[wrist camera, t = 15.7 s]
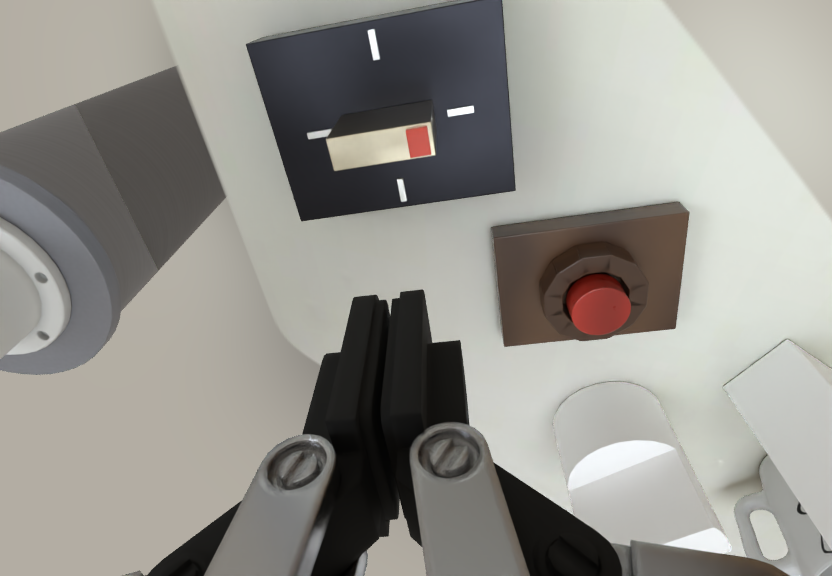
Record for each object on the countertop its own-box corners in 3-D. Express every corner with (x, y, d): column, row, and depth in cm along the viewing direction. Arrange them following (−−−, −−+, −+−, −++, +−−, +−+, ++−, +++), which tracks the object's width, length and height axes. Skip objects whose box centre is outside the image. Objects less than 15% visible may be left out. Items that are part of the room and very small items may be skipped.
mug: (730, 515, 49) (789, 628, 41) (696, 467, 46) (753, 580, 38) (860, 471, 45) (956, 587, 37) (834, 415, 42) (933, 529, 34)
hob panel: (311, 202, 34) (300, 222, 31) (262, 37, 29) (244, 44, 26) (509, 173, 32) (516, 192, 30) (495, -8, 27) (502, -5, 24)
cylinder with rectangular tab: (633, 364, 40) (699, 500, 30) (679, 430, 44) (752, 571, 33) (533, 411, 43) (561, 549, 33) (583, 469, 47) (623, 609, 37)
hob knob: (348, 144, 29) (333, 173, 25) (341, 115, 28) (324, 140, 24) (436, 129, 28) (436, 157, 24) (432, 99, 27) (430, 123, 23)
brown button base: (501, 333, 39) (506, 363, 36) (490, 226, 34) (495, 251, 31) (667, 315, 37) (686, 345, 34) (679, 201, 33) (702, 224, 30)
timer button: (566, 322, 34) (571, 338, 33) (565, 276, 33) (571, 291, 31) (621, 316, 34) (629, 332, 32) (624, 269, 32) (632, 284, 31)
